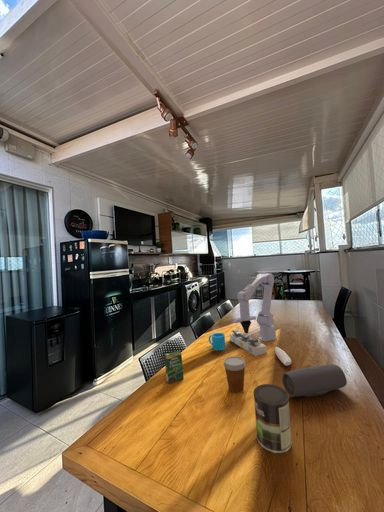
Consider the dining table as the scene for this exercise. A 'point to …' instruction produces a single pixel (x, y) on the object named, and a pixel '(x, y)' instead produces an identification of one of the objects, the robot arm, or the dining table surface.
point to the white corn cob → (282, 356)
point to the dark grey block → (236, 332)
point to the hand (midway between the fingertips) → (246, 332)
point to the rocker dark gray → (244, 336)
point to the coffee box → (173, 366)
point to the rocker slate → (253, 340)
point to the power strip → (249, 345)
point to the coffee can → (272, 418)
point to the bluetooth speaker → (314, 380)
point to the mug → (218, 341)
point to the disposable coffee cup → (235, 373)
